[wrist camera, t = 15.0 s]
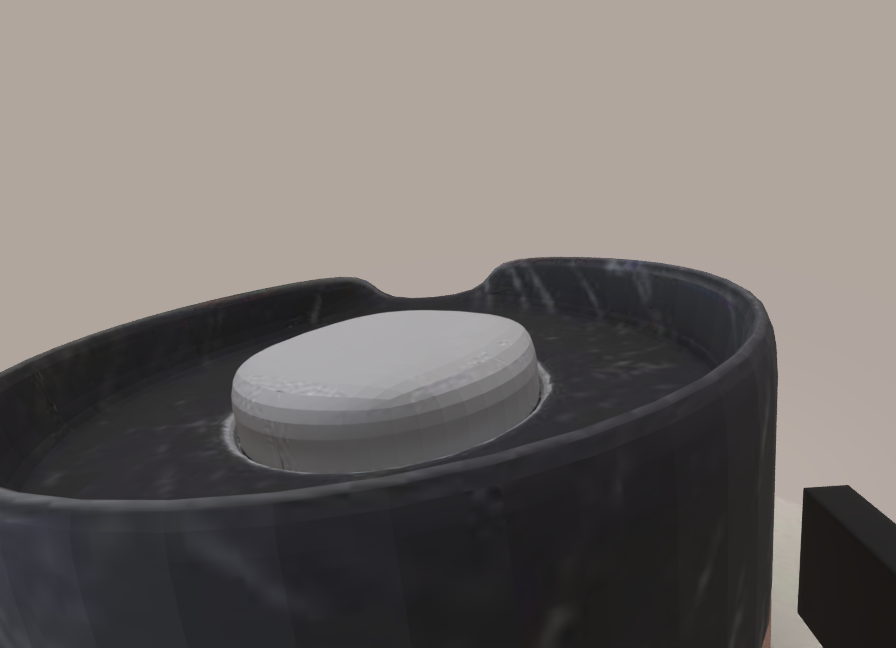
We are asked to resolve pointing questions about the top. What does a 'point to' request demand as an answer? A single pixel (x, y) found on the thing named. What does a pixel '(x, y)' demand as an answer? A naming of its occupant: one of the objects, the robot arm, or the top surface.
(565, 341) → the travel mug
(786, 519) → the top surface
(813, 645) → the top surface
